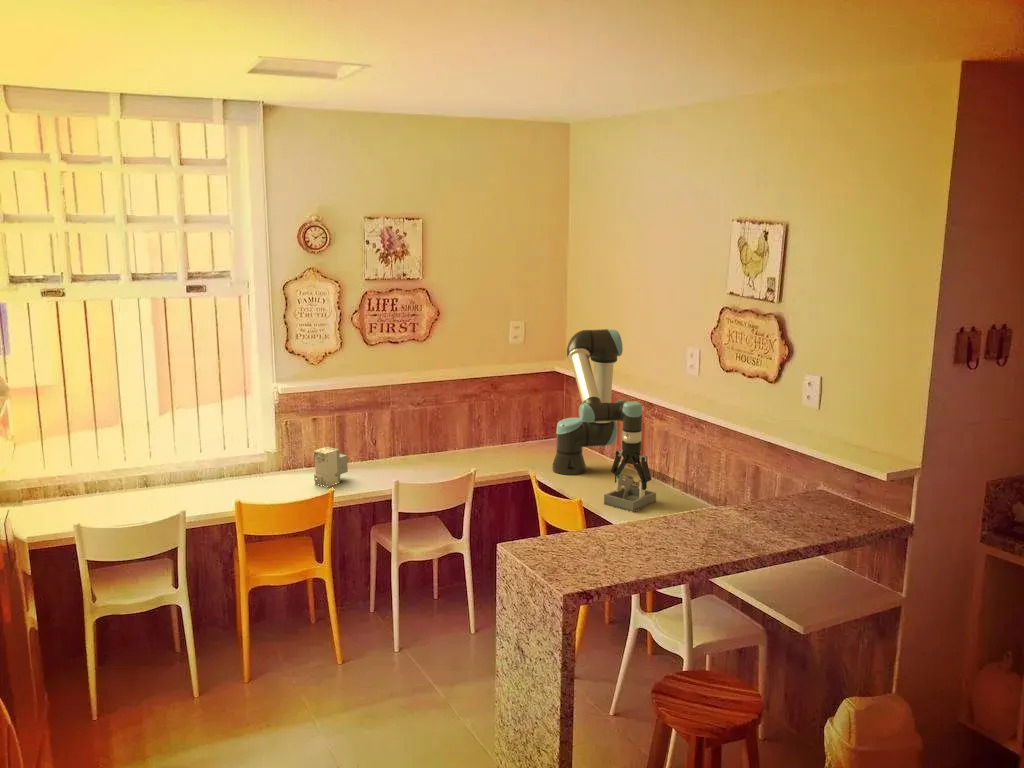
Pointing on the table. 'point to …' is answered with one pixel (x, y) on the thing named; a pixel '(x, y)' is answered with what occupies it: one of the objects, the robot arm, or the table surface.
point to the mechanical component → (627, 483)
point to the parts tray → (629, 499)
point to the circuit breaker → (329, 466)
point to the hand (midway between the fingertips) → (630, 494)
